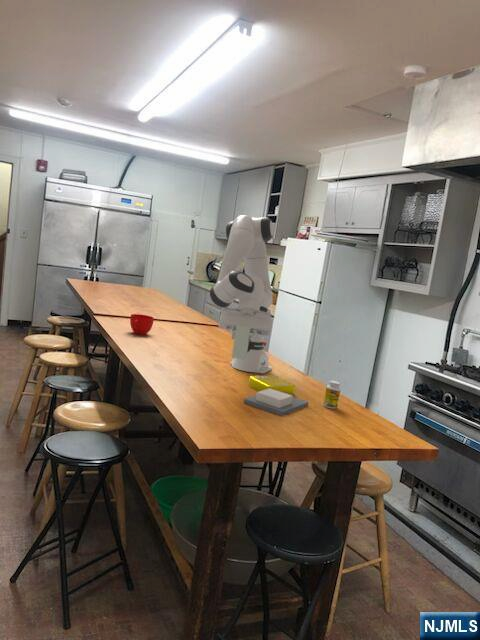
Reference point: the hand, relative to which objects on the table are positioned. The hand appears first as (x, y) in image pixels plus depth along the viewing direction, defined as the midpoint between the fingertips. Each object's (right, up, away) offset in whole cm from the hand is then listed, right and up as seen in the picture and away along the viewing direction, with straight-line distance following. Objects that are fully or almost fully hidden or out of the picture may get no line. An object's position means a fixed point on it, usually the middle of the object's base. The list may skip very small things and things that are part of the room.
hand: (241, 339), depth 186 cm
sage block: (-1, -7, +1) cm, 7 cm away
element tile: (+12, -23, +22) cm, 34 cm away
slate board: (+13, -25, +2) cm, 28 cm away
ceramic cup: (-58, -1, +94) cm, 110 cm away
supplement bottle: (+35, -27, +11) cm, 46 cm away
